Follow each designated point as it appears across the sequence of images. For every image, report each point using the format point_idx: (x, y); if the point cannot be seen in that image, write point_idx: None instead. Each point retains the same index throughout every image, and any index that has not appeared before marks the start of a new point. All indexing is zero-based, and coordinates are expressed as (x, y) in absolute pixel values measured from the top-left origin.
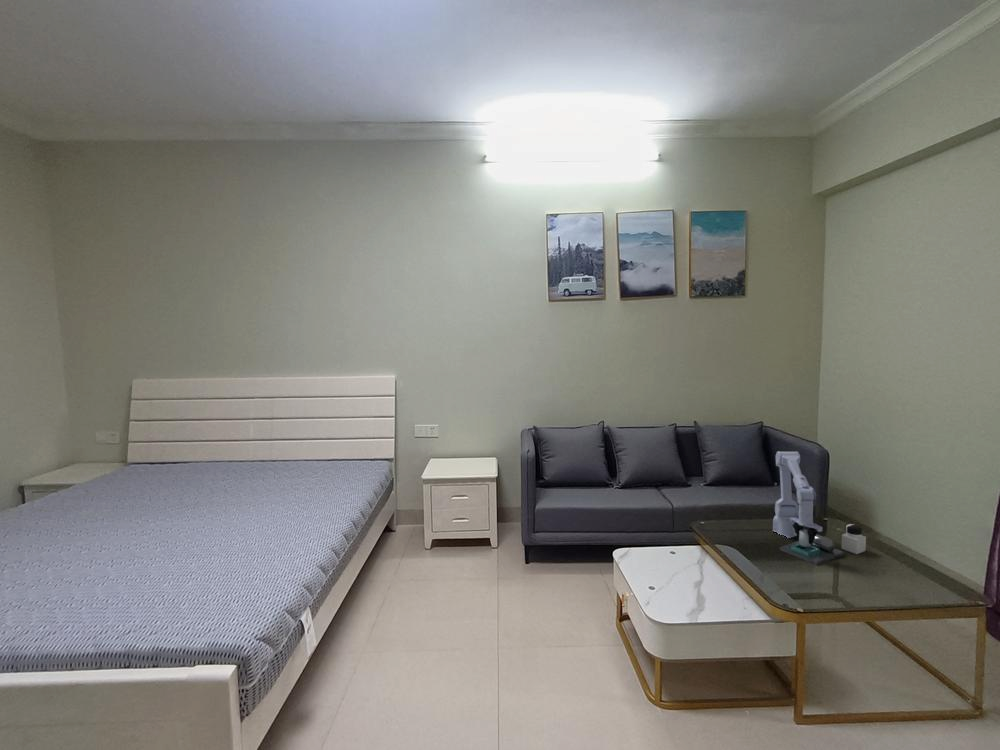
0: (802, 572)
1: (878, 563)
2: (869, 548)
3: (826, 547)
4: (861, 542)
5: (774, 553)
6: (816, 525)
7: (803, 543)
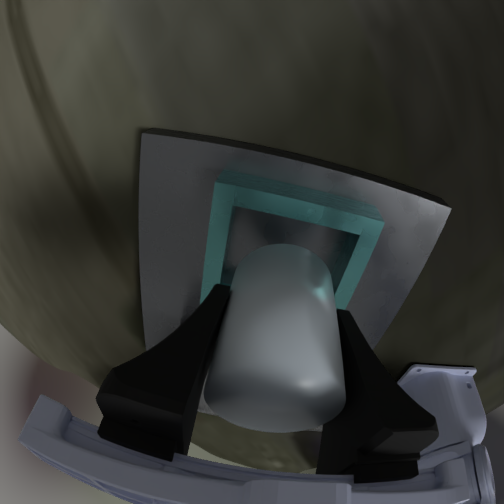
0: None
1: (61, 339)
2: None
3: None
4: None
5: (455, 115)
6: (104, 488)
7: (276, 261)
